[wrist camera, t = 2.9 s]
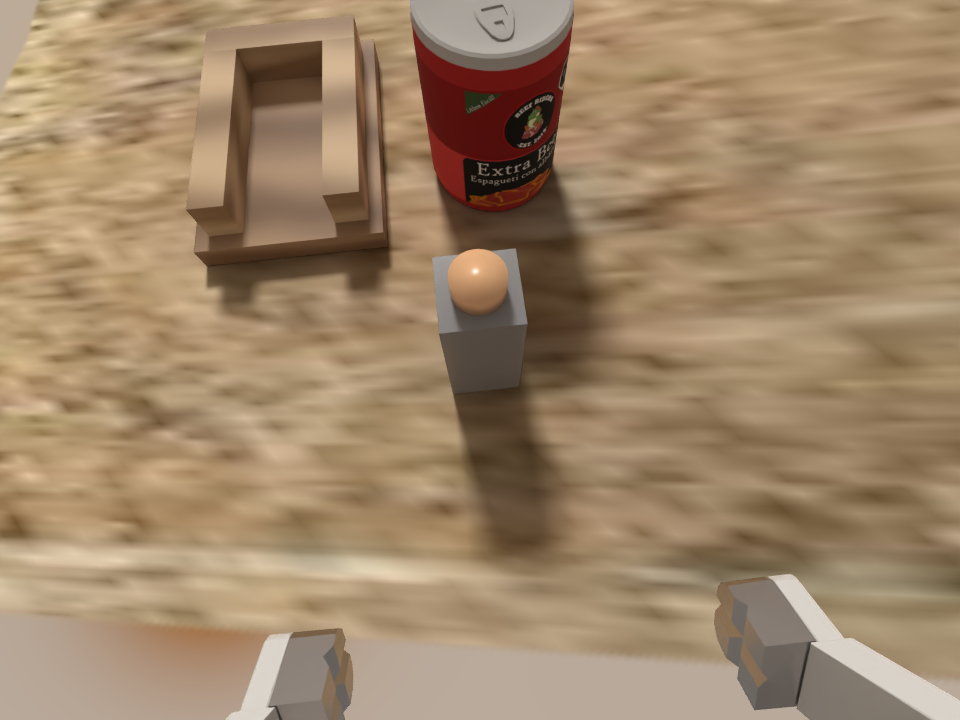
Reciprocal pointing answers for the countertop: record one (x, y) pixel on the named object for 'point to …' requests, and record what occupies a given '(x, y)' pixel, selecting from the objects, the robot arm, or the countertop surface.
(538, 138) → the canned food
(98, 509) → the countertop surface
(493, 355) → the block with orange ball
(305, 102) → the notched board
